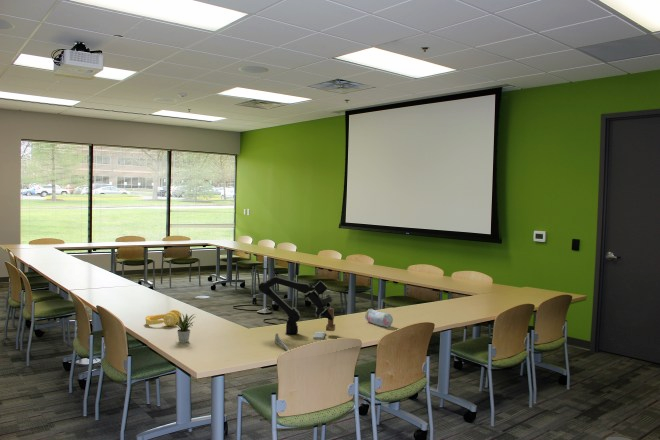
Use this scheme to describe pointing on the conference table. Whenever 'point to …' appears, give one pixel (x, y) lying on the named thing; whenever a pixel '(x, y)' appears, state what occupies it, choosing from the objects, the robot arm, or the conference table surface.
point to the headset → (164, 318)
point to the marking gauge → (330, 321)
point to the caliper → (280, 342)
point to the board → (319, 335)
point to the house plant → (184, 328)
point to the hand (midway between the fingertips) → (333, 319)
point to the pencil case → (378, 318)
